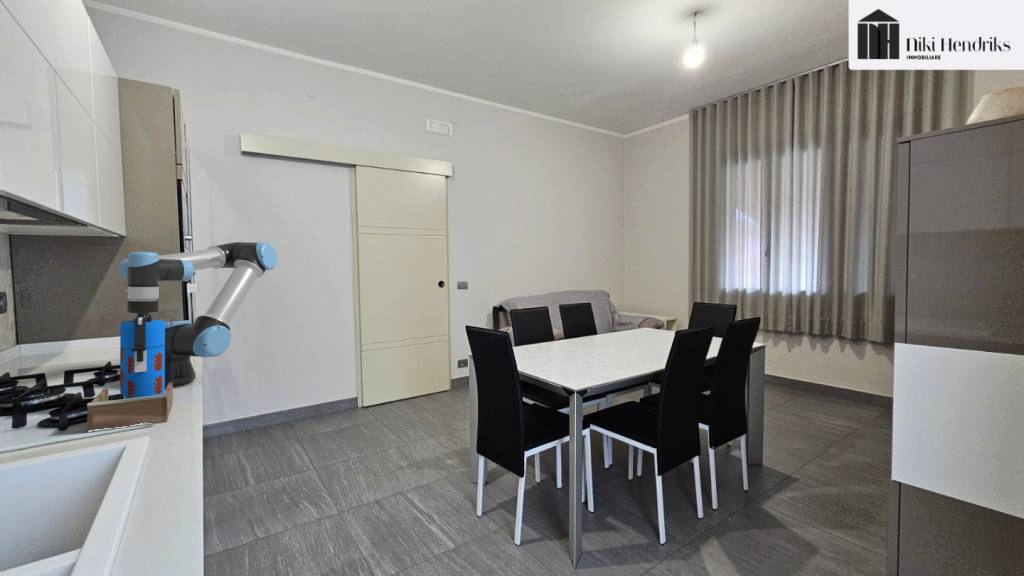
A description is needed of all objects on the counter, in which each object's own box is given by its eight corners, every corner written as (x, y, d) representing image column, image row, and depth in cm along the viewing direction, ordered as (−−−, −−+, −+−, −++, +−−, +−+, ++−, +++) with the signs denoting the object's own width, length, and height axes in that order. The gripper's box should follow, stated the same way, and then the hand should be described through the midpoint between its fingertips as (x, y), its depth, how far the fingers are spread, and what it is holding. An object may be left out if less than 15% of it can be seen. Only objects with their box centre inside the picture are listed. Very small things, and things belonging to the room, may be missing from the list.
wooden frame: (103, 412, 125) (103, 386, 125) (172, 404, 134) (172, 380, 134) (87, 432, 109) (87, 404, 109) (166, 422, 118) (166, 395, 118)
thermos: (160, 391, 143) (160, 319, 142) (168, 398, 136) (168, 322, 136) (117, 398, 135) (117, 321, 134) (123, 406, 128) (123, 324, 127)
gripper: (133, 297, 142) (133, 362, 143) (120, 302, 123) (120, 377, 124) (162, 297, 146) (162, 360, 147) (154, 302, 127) (153, 374, 128)
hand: (143, 368), depth 135 cm, fingers closed on thermos, 11 cm apart
